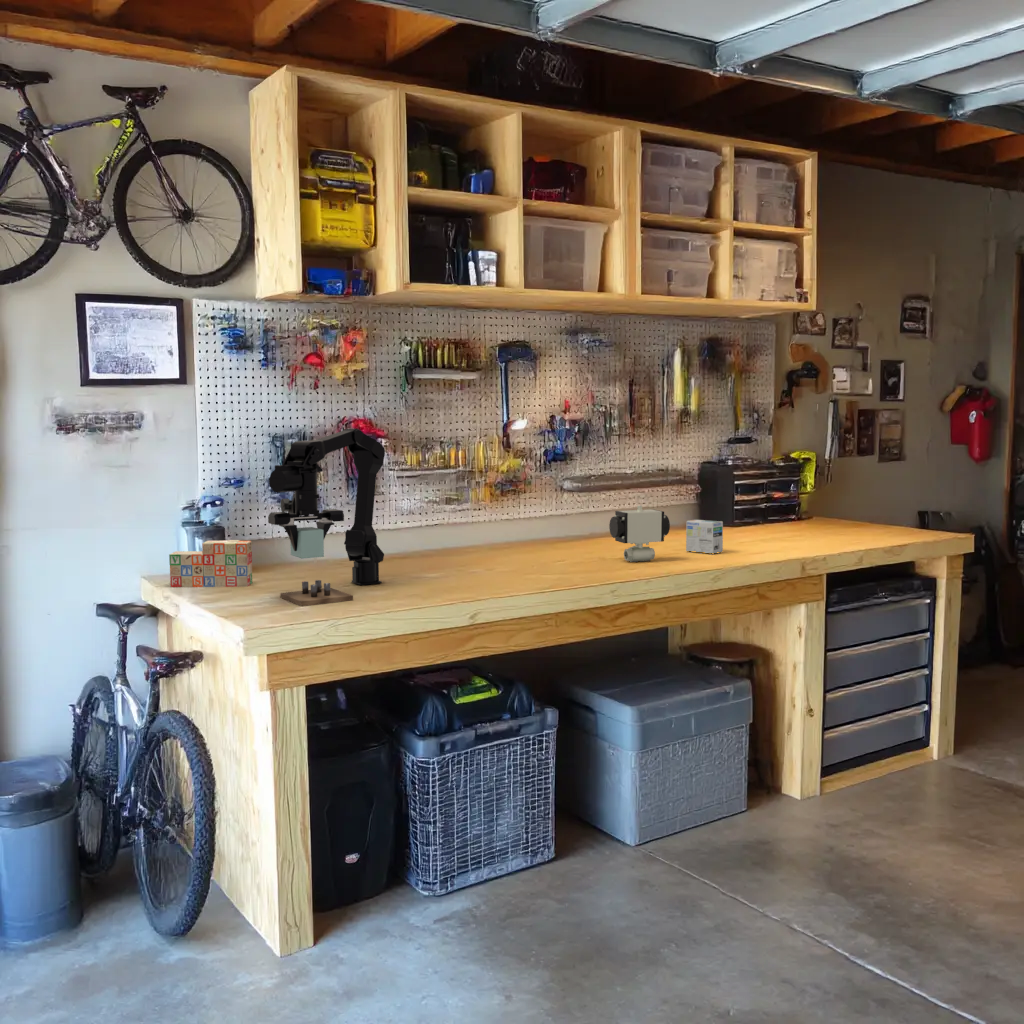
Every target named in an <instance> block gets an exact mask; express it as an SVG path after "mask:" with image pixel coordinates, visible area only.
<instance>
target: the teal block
mask: <svg viewBox="0 0 1024 1024" xmlns="http://www.w3.org/2000/svg"><path fill="white" fill-rule="evenodd" d="M289 541H290V540H289ZM324 541H325V538H324V535H323V530H322V529H318V528H317V527H314V526H307V527H297V551H294V549H293V546H292V544H291V541H290V546H289V547H290V555H291V556H292V557H295V558H298V559H315V558H324V557H325V550H324V549H325V542H324Z"/></svg>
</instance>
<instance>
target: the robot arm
mask: <svg viewBox="0 0 1024 1024" xmlns="http://www.w3.org/2000/svg"><path fill="white" fill-rule="evenodd" d="M290 445H291V447H290V448H289V451H288V453H287V454H286V456H285V458H284V460H283V463H282V464H281V465H280V464H276V465H274V470H273V471H272V472H271V473H270V476H269V478H268V484H269V487H270V489H271V490H272V491H273V492H274V493H276V494H277V493H278V494H279V493H287V492H294V493H293V494H292V500H290V498H281V500H280V510H281V511H276V512H275V511H274V512H273V511H272V512H269V514H268V516H267V522H268V524H270V525H273V526H279V527H281V528H283V529H284V530H285V531H286V534H287V536H288V539H289V541H291V544H292V546H293V549H294V551H297V528H298V524H295V522H300V521H301V522H302V521H315V523H316V528H318V529H322V530H323V535H324V539H325V538H326V536H327V533H328V532H329V531H330V528H331V526H335V522H345V515H344V514H345V513H344V511H343V510H341V509H335V508H328V509H322V512H320V510H319V509H318V499H320V494H319V493H318V473H322V472H323V471H324V469H323V468H322V467H321V466H320V465H319V464H318V463H319V462H320V461H322V460H324V459H325V457H326V455H328V454H330V453H332V452H335V451H338V450H340V449H343V448H347V450H348V452H349V453H350V454H351V455H352V456H353V464H354V466H355V469H356V470H357V474H358V475H357V485H356V496H355V497H356V499H355V510H354V521H353V525H352V526H351V528H350V529H346V531H345V533H344V534H345V538H344V543H343V544H344V545H345V551H346V553H347V558H348V561H349V562H353V566H352V569H351V571H352V572H351V573H352V574H351V575H352V576H351V577H352V580H351V583H353V584H356V585H359V586H366V585H368V586H369V585H375V584H381V583H382V580H380V568H379V567H380V563H382V562H383V561H384V557H385V553H384V552H383V551H382V549H381V547H380V546H379V545H378V544H377V543H378V542H377V541H378V540H377V539H378V537H377V533H376V531H375V530H374V526H373V518H374V517H373V516H374V505H375V496H376V495H375V494H376V493H375V492H376V485H377V483H376V482H377V474H378V473H379V472H380V469H381V468H382V467H383V464H384V461H385V455H386V452H385V451H386V448H385V447H384V446H383V444H382V443H381V442H379V441H377V439H375V438H373V437H372V436H369V435H368V434H365V432H363V431H362V430H361V429H359V428H345V429H343V430H341V431H339V432H336V433H332V434H329V435H326V436H324V437H321V438H318V439H313V440H311V439H310V440H297V441H294V442H292V444H290Z"/></svg>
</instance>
